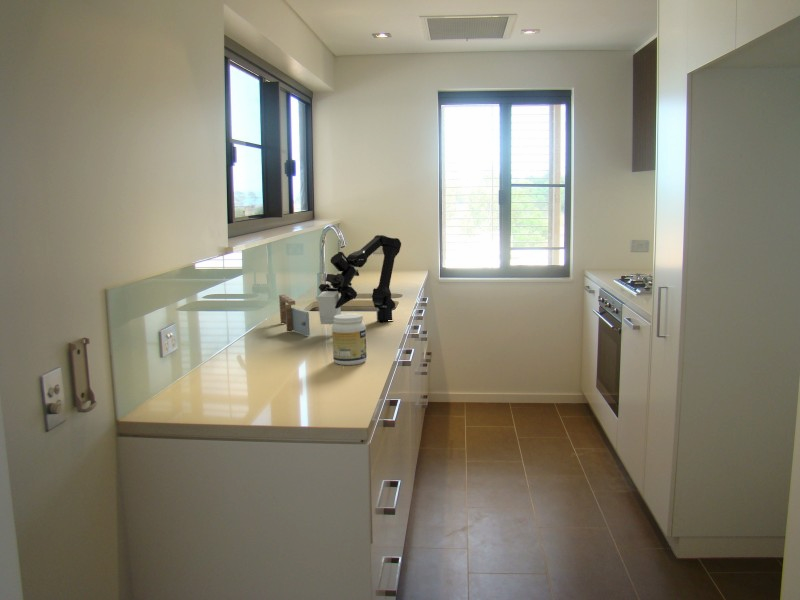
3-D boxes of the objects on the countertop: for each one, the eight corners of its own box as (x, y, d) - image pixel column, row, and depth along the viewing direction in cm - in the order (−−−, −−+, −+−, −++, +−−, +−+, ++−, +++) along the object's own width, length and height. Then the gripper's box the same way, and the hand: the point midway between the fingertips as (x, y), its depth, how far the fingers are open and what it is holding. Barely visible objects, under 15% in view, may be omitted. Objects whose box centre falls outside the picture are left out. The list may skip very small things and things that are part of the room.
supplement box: (336, 324, 297) (333, 296, 292) (320, 324, 299) (316, 296, 294) (342, 318, 303) (338, 290, 299) (326, 317, 305) (322, 290, 301)
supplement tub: (367, 365, 247) (365, 317, 244) (333, 366, 246) (330, 319, 243) (366, 356, 259) (364, 311, 256) (333, 358, 258) (331, 313, 255)
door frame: (296, 331, 309) (295, 301, 307) (287, 332, 308) (285, 301, 306) (285, 323, 330) (284, 294, 327) (277, 323, 328) (275, 295, 326)
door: (289, 330, 310) (288, 308, 308) (294, 329, 311) (293, 307, 309) (304, 336, 296) (303, 313, 295) (309, 335, 297) (308, 312, 296)
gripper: (320, 265, 306) (303, 294, 299) (351, 267, 294) (333, 297, 287) (334, 280, 313) (317, 309, 307) (364, 283, 301) (348, 313, 295)
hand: (328, 306), depth 299 cm, fingers closed on supplement box, 9 cm apart
